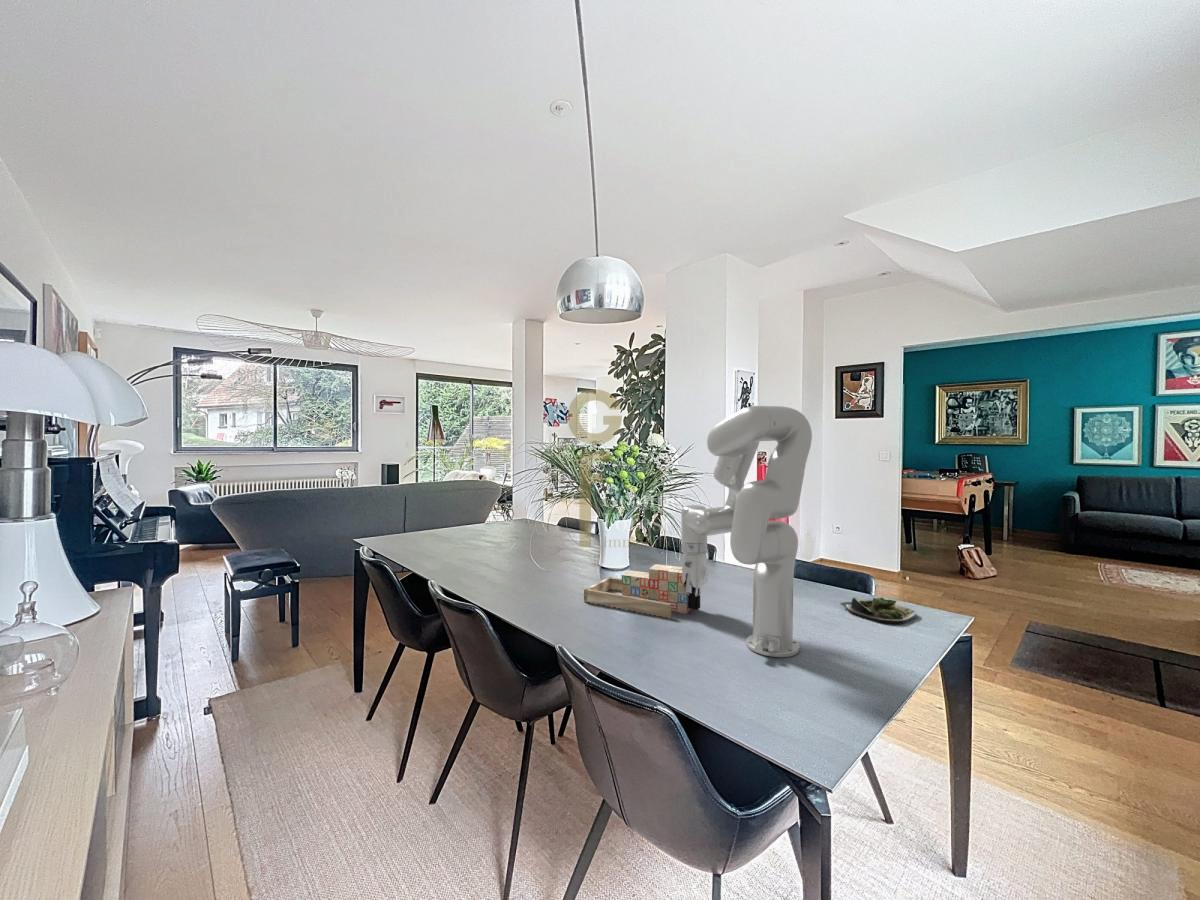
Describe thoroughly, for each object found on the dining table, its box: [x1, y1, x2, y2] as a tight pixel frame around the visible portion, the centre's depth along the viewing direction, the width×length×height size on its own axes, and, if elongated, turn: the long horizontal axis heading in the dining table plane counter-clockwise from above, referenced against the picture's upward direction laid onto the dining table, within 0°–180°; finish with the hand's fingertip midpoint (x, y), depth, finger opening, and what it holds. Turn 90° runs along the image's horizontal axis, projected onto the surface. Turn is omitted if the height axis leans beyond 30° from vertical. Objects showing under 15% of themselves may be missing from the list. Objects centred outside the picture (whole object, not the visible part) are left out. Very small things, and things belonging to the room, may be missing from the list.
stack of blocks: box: [621, 563, 691, 614], centre depth 160 cm, size 21×6×12 cm, turn 64°
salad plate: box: [840, 597, 917, 626], centre depth 154 cm, size 19×18×5 cm
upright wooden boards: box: [583, 576, 672, 619], centre depth 163 cm, size 16×29×4 cm, turn 60°
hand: (694, 608), depth 154 cm, fingers closed
